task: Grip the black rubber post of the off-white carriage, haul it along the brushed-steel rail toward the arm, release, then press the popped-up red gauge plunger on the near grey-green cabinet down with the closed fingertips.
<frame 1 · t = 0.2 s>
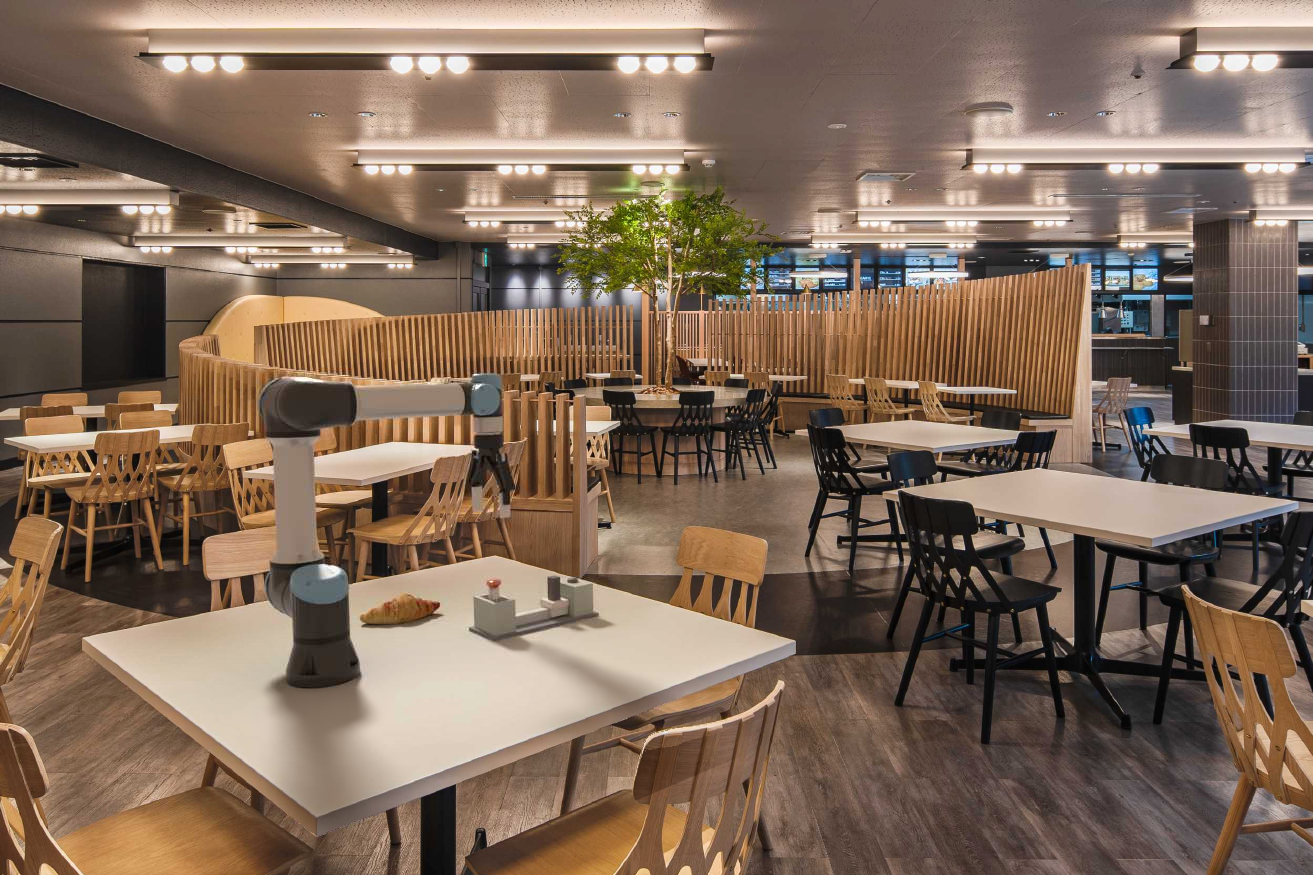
hand: (491, 514, 238), 28 cm above the table, fingers open, 13 cm apart
croissant: (400, 620, 242), on the table
carriage: (554, 595, 240), point 6 cm above the table, slide at 0.0 cm
gauge plunger: (494, 598, 228), point 9 cm above the table, slide at 0.0 cm
rail fixture: (535, 622, 236), on the table
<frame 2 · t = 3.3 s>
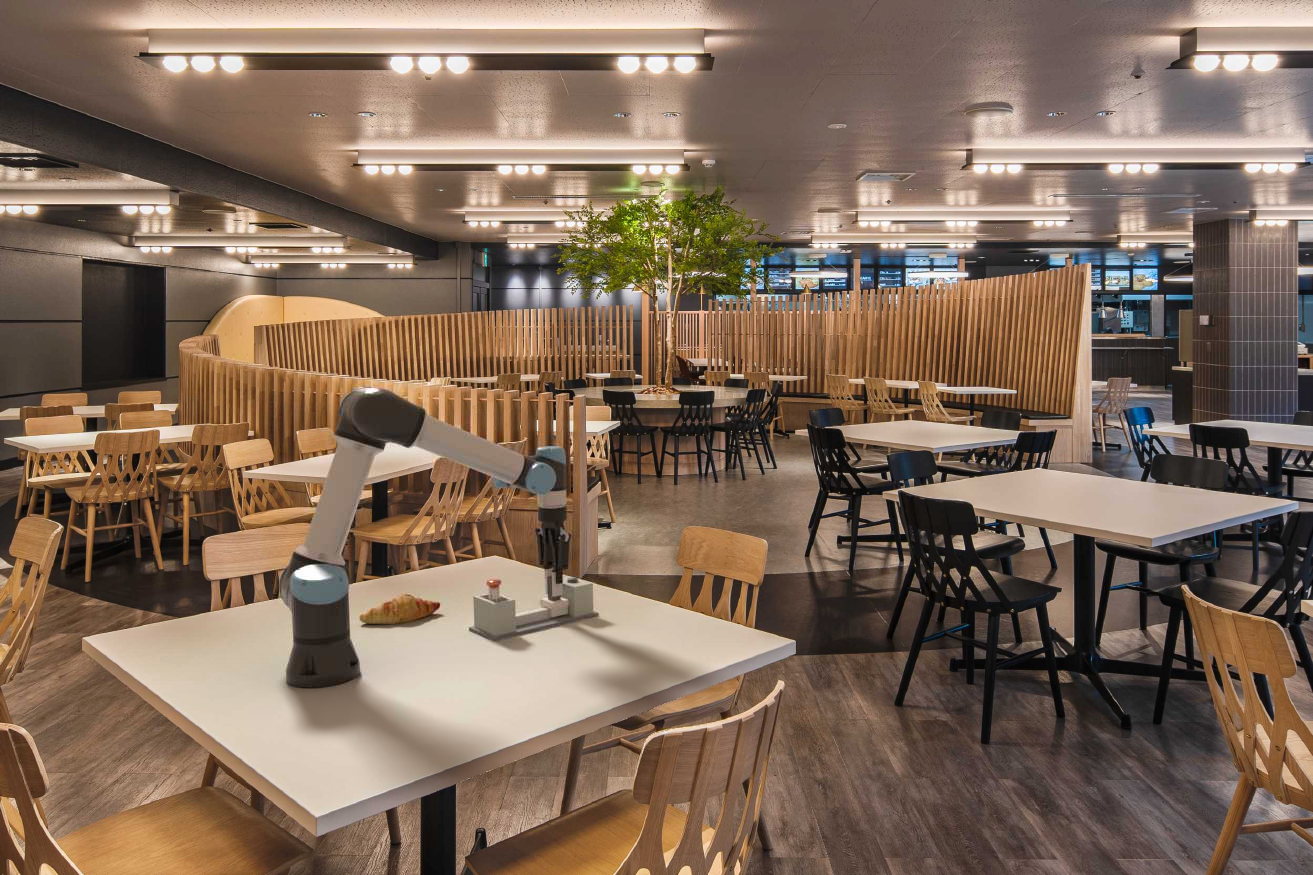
hand: (554, 594, 240), 7 cm above the table, fingers closed on carriage, 2 cm apart
carriage: (554, 595, 240), point 6 cm above the table, slide at 0.0 cm, touching gripper
everything else where it was.
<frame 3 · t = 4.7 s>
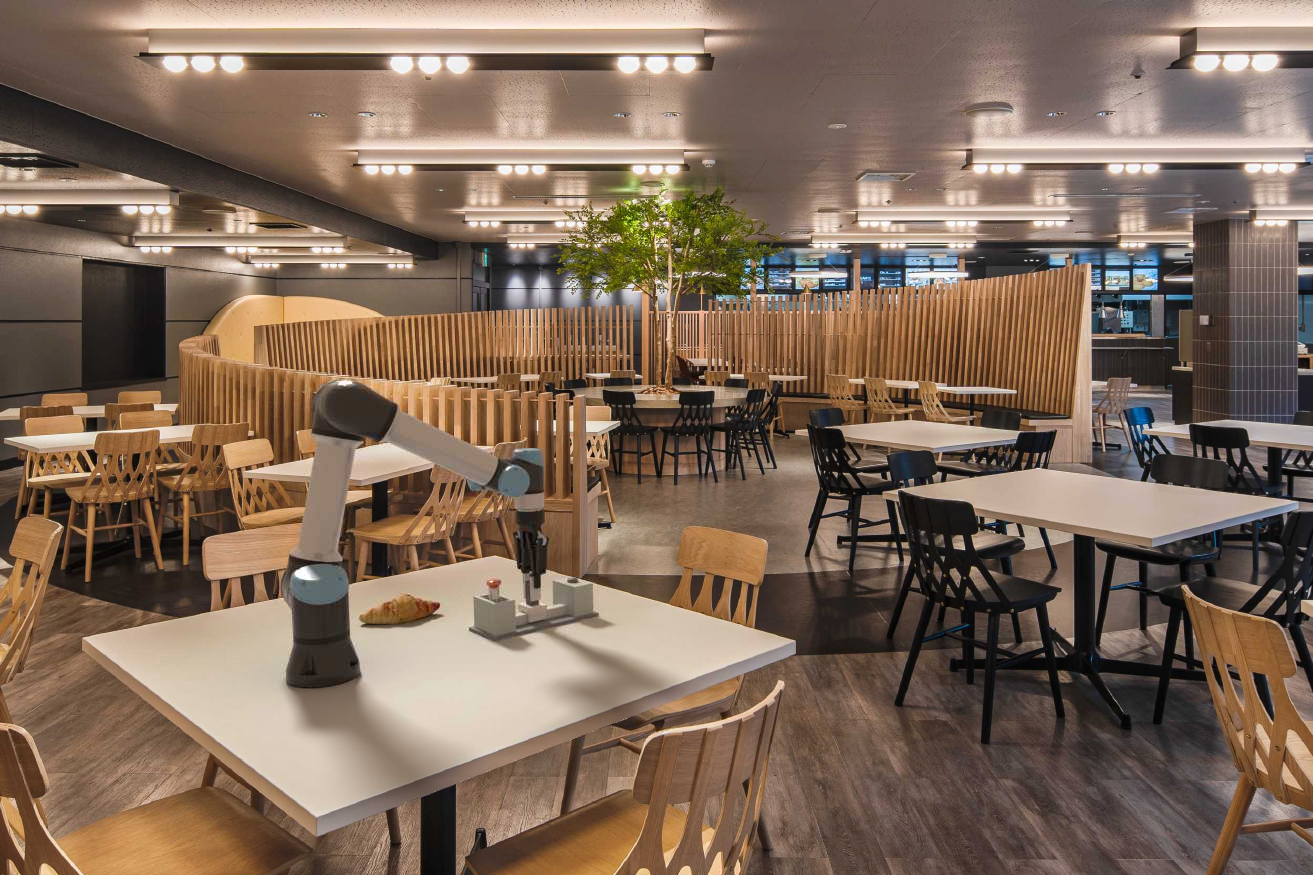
hand: (532, 598, 235), 6 cm above the table, fingers closed on carriage, 2 cm apart
carriage: (532, 599, 235), point 6 cm above the table, slide at 6.8 cm, touching gripper
everything else where it was.
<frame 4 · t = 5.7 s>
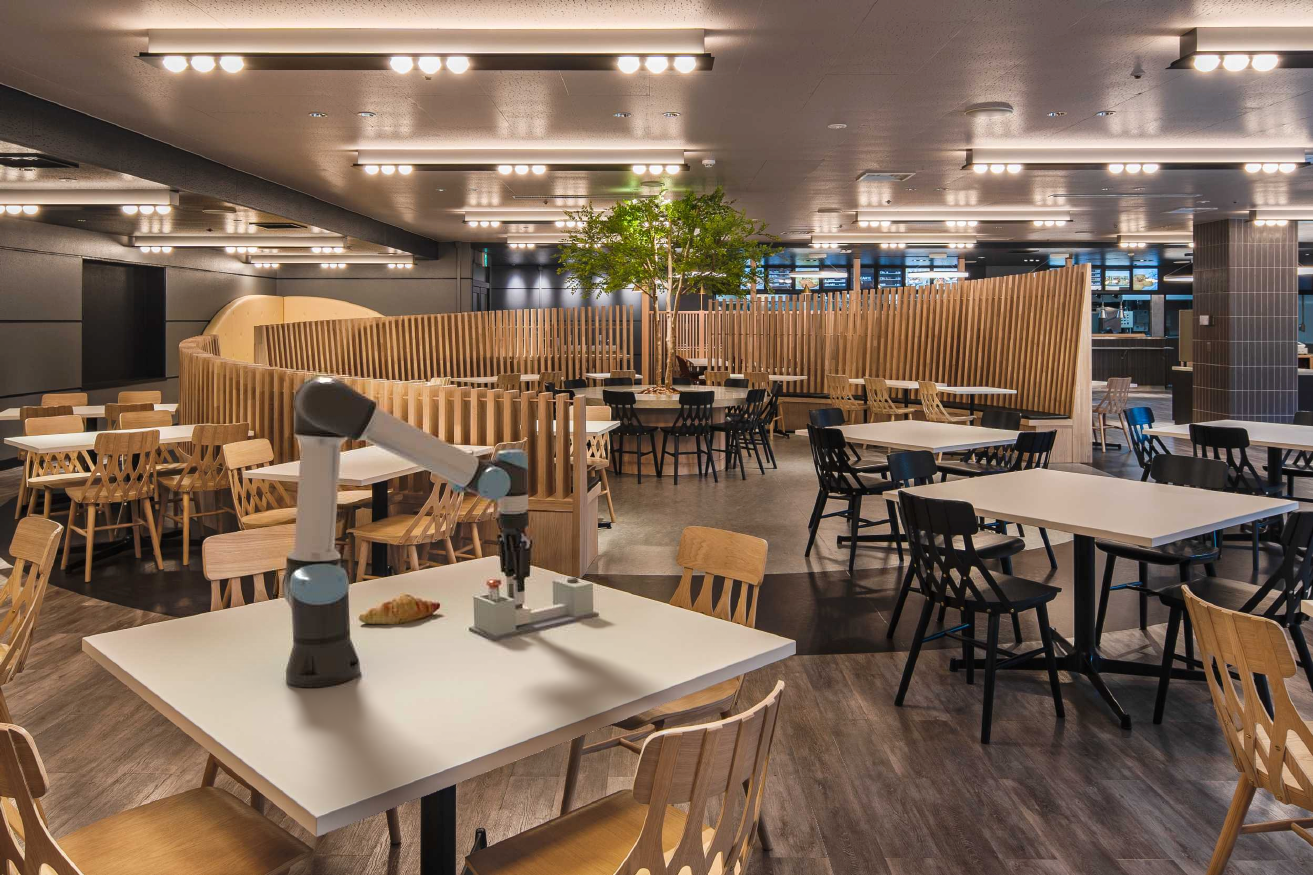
hand: (516, 602, 232), 6 cm above the table, fingers closed on carriage, 2 cm apart
carriage: (516, 603, 232), point 6 cm above the table, slide at 11.7 cm, touching gripper
everything else where it was.
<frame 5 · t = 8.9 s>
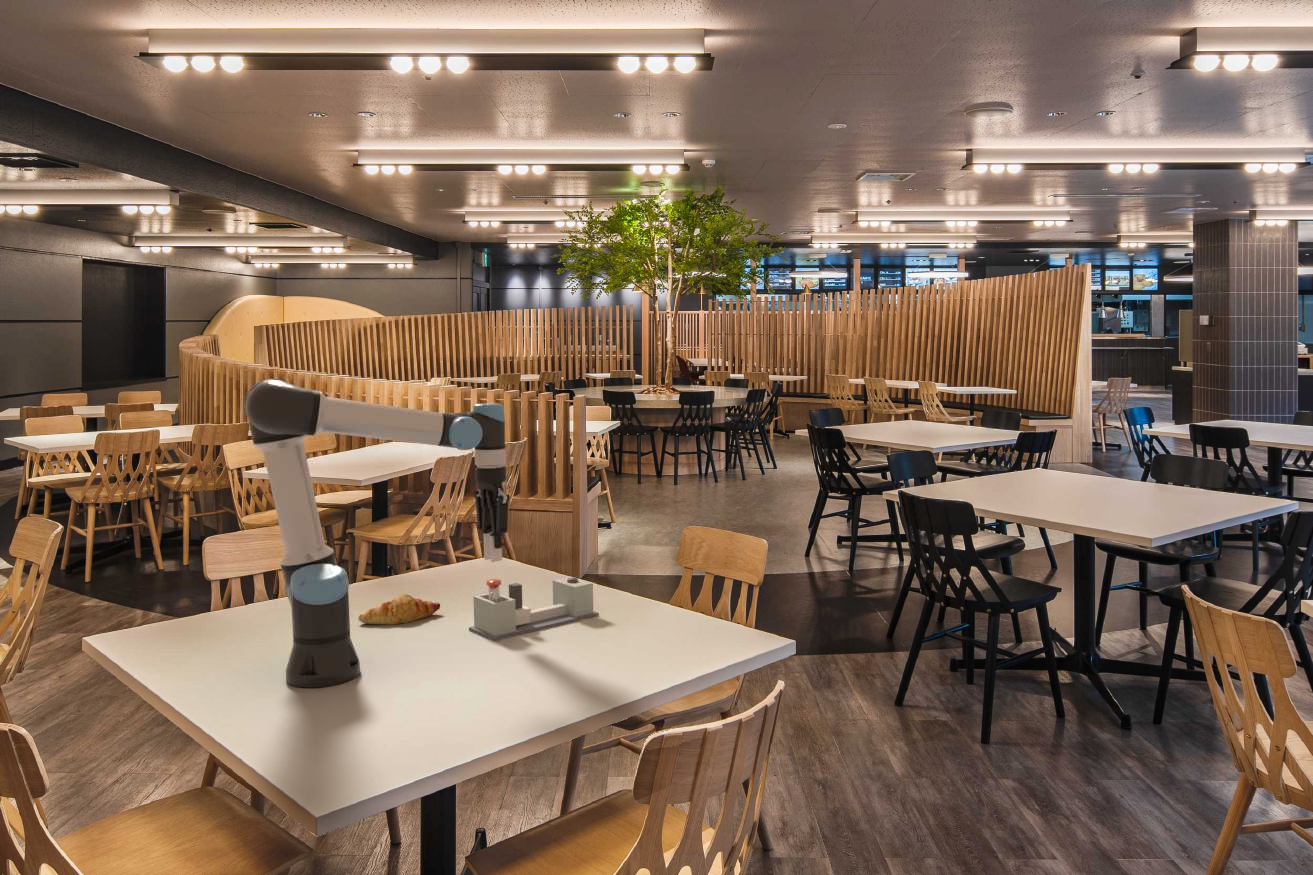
hand: (493, 559, 227), 19 cm above the table, fingers open, 3 cm apart
carriage: (515, 603, 232), point 6 cm above the table, slide at 11.8 cm
everything else where it was.
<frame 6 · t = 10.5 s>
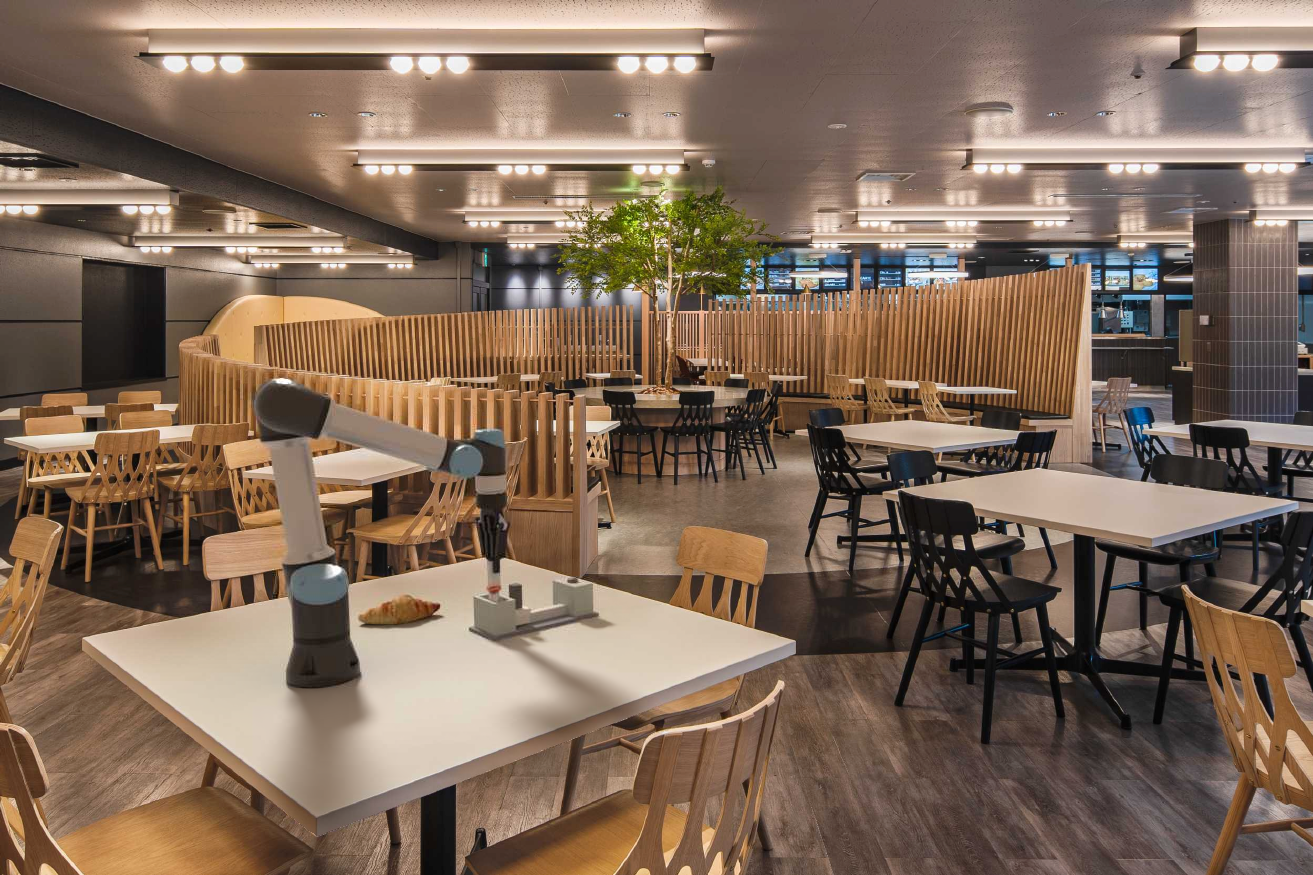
hand: (494, 585, 227), 12 cm above the table, fingers closed
gauge plunger: (494, 603, 228), point 7 cm above the table, slide at 1.4 cm, touching gripper
everything else where it was.
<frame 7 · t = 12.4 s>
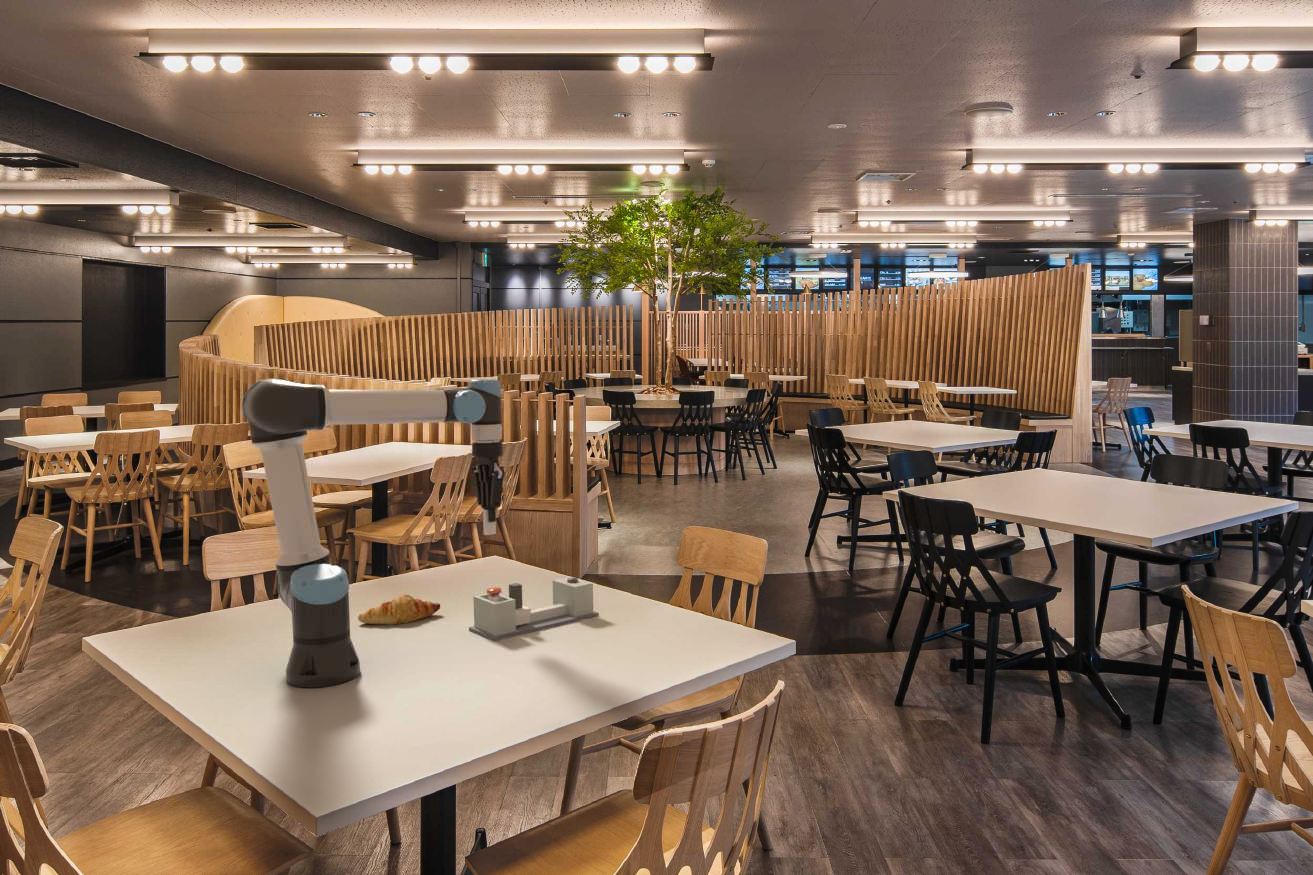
hand: (489, 534, 230), 24 cm above the table, fingers closed
gauge plunger: (494, 606, 228), point 7 cm above the table, slide at 2.1 cm
everything else where it was.
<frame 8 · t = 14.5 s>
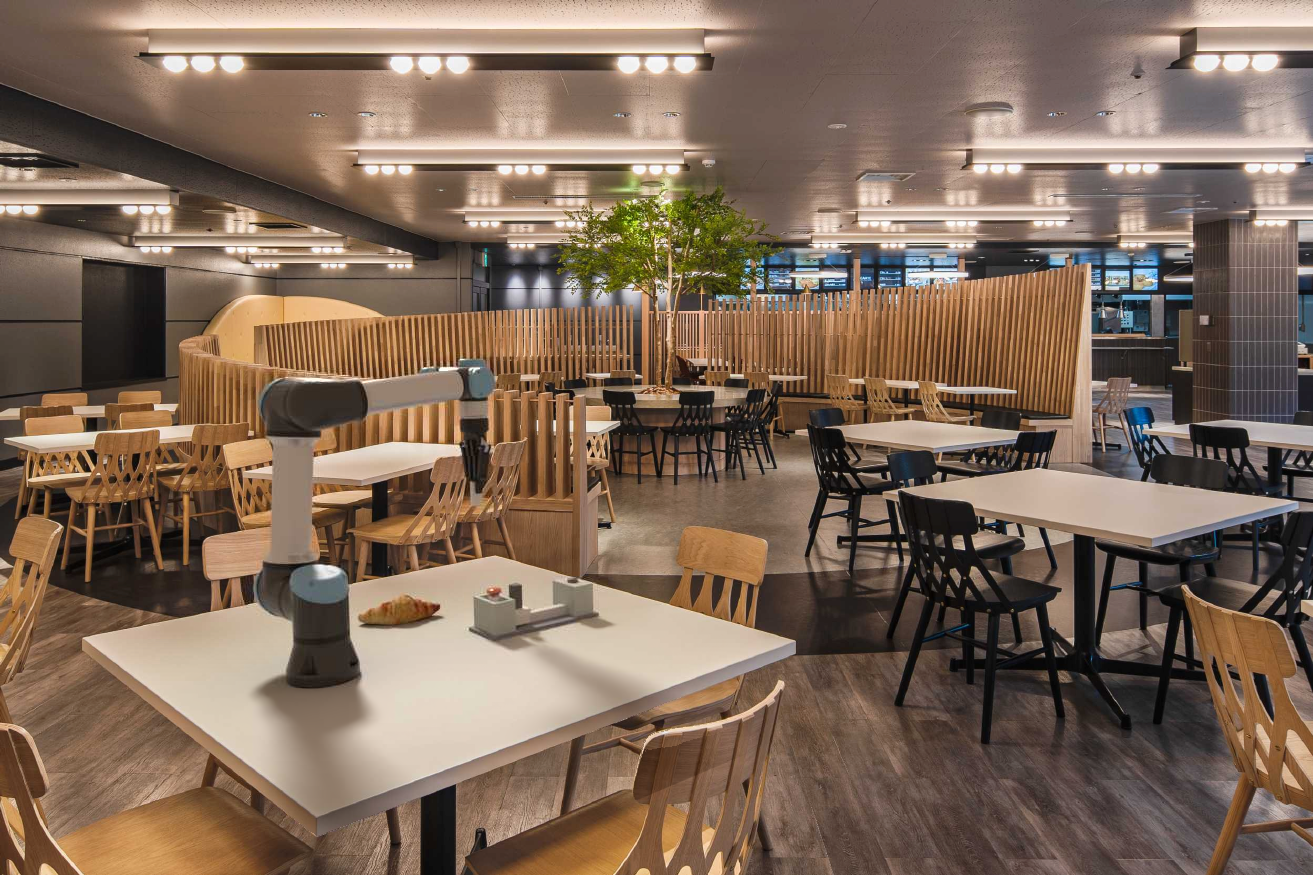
hand: (476, 505, 243), 29 cm above the table, fingers closed
nothing on the table moved.
at the end: carriage slide at 11.8 cm; gauge plunger slide at 2.1 cm; the gripper is holding nothing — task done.
